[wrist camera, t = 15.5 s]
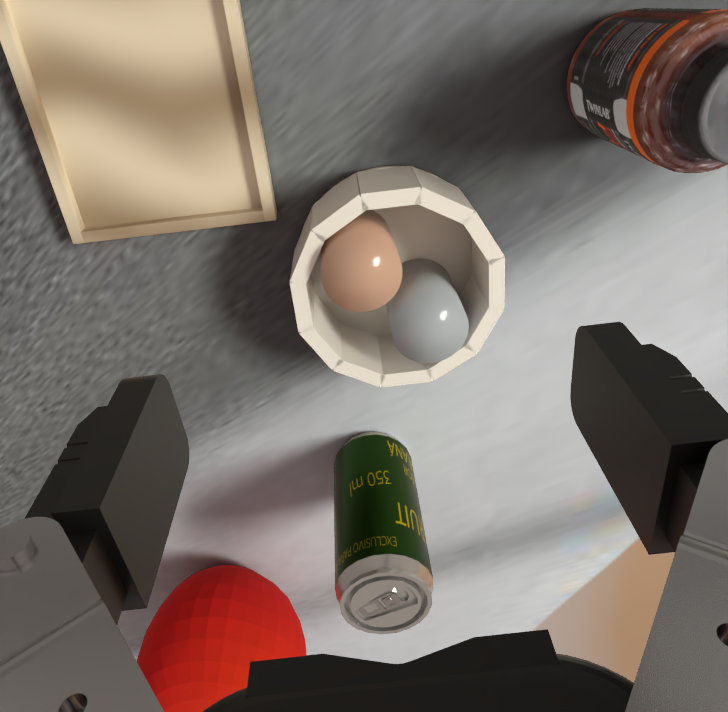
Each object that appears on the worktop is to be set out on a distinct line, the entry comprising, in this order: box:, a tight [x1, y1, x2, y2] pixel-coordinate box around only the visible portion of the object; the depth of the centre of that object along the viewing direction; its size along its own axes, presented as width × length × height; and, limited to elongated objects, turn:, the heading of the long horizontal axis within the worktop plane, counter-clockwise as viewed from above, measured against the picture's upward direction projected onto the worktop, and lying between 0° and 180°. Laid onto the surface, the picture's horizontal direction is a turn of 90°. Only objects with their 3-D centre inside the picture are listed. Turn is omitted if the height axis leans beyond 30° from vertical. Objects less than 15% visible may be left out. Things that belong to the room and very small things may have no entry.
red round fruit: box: [137, 565, 306, 712], centre depth 43 cm, size 11×11×13 cm
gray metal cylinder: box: [386, 258, 469, 363], centre depth 34 cm, size 4×4×5 cm
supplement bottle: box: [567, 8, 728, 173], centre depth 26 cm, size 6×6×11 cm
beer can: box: [334, 431, 433, 634], centre depth 37 cm, size 5×5×12 cm
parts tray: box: [0, 0, 278, 244], centre depth 30 cm, size 14×11×1 cm
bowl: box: [290, 165, 505, 387], centre depth 33 cm, size 11×11×5 cm
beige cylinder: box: [320, 210, 403, 312], centre depth 32 cm, size 4×4×5 cm
